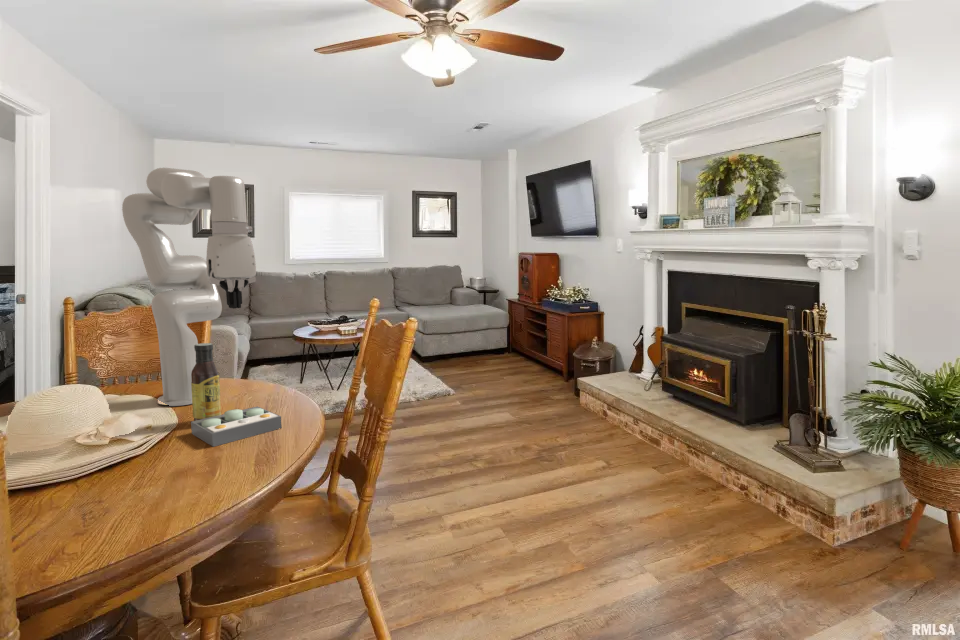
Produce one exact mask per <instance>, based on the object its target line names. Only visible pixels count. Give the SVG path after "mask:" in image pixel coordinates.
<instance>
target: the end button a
mask: <svg viewBox="0 0 960 640" xmlns="http://www.w3.org/2000/svg"><path fill="white" fill-rule="evenodd" d="M219 424H221V419H218V418H213V419H207V420H204V421H202V427H204V428H207V427H211V426H215V425H219Z"/></svg>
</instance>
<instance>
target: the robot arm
mask: <svg viewBox="0 0 960 640" xmlns="http://www.w3.org/2000/svg"><path fill="white" fill-rule="evenodd" d="M146 186H147V188H148V190H149V191H150V192H151V193H150V192H149V193H148V192H142V193H141V192H140V193H132V194H129V195H127V196H126V197H125V198H124V199H123V201H122V204H121V205H122V207H121V208H122V209H121V211H122V217H123V221H124V224H125V226H126V229H127V230H128V232H129V234H130V235H131V237H132V239H133V241H134V242H135V243H136V246H137V247H138V250H139V252H140V255H141V259H142V262H143V265H144V269H145V271H146V275H147V277H148V278H147V279H148V280H149V282H150V284H151V285H152V287H154V288H156V289H159V290H164V291H160V292H158V293H157V294H155V295H154V296H153V298H152V300H151V303H150V304H151V312H152V315H153V318H154V322H155V326H156V330H157V331H156V333H157V339H158V351H159V359H160V360H159V361H160V370H161V371H160V372H161V383H162V395H161V396H159V397H158V398H157V400H159V401H161V402H163V403H165V404H167V405H169V406H168V407H180V406H188V405H189V406H190V405H192V387H191V382H192V377H191V373H192V370H193V368H194V366H195V364H196V351H195V348H194V346H195V344H199V341H198V338H197V335H196V334H195V332H194V331H193V330H192V329H191V328H190V327H189V326H188V324H192V323H198V322H208V321H213V320H216V319H218V318H219V317H220V316H221V314H222V311H223V306H222V305H223V304H222V300H221V299H222V298H221V296H220V292H219V289H218V287H217V286H219V287H220V288H222V289H223V291H224V292H225V294H226V295H225V297H226V298H225V299H226V305H228V308H229V309H233V310H234V309H241V308H242V304H243V293H242V292H244V289H245V288H246V286H247V285H249V284H252V283H256V282H257V277H256V274H257V265H256V264H257V263H256V256H255V250H254V246H253V242H252V239H251V236H248V235H249V233H251V232H253V226H251V225H250V226H249V224H248V223H247V221H248V220H247V202H246V187H245V182H244V180H243V179H242V178H240V177H238V176H231V175H215V176H211V177H205V176H204V174H202V173H201V172H200V171H195V170H190V169H188V170H187V169H181V168H171V167H159V168H155V169H153V170H152V171H150V172H149V173H148V175H147V176H146ZM200 210H209V211H210V218H211V233H212V236H208V238H207V245H206V259H205V258H203V257H202V256H198V255H191V254H190V255H188V254H187V255H180V254H179V253H177V250H176V249H175V244H174V242H173V240H172V239H171V238H170V236H168V235H167V234H166V233H165V232H164V231H163V230H161V229H160V228H159V227H158V226H156V225H173V226H174V225H175V226H177V225H179V226H185V225H189V224H191V223H192V222H193V221H194V220H195V219H196V217H197V216H198V213H199V212H200ZM157 400H156V401H157Z"/></svg>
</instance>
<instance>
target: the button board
mask: <svg viewBox="0 0 960 640" xmlns="http://www.w3.org/2000/svg"><path fill="white" fill-rule="evenodd" d="M255 408H261V409H264V414H260V415H256V416H252V417H249V416H247V415H246V411H247V410H250V409H255ZM241 410H242V411H243V419H240V420H235V421H231V422H226V421H225V417H224V413H223V414H222V413H221V415H218V416H214V417H209V418H205V419H201V420H196V421H194V420H192V421H190V425H191V434H192V435H193V436H194V437H196V438H197V439H200V440H202V441H203V442H205V443H206V444H208V445H209V446H211V447H217V446H222V445H225V444H228V443H233V442H235V441H240V440H244V439H247V438H251V437H254V436H259V435H262V434H265V433H268V432H273V431H276V429H277V430H280V429H279V428H281V429H282V416H281V415H278V414H277V413H275V412H272V411H269V410H267V409H265V408H262V407H260V406H258V405H257V406H253V407H249V408H244V409H241ZM213 418H218V419H221V424H219V425H215V426H211V427H207V428H204V427H202V421H204V420H207V419H213Z"/></svg>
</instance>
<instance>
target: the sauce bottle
mask: <svg viewBox="0 0 960 640" xmlns="http://www.w3.org/2000/svg"><path fill="white" fill-rule="evenodd" d="M194 348H195V351H196V364H195V366H194V368H193V370H192V373H191V377H192V382H191V387H192V404H191V405H192V417H193V421H196V420H201V419H205V418H209V417H214V416H218V415H222V410H221V408H222V405H221V385H220V374H219V373H218V369H217V367H216V365H215V362H214V358H213V357H214V355H213V354H214V353H213V350H214V345H213V343H211V342H203V343H198V344H195V346H194Z"/></svg>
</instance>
